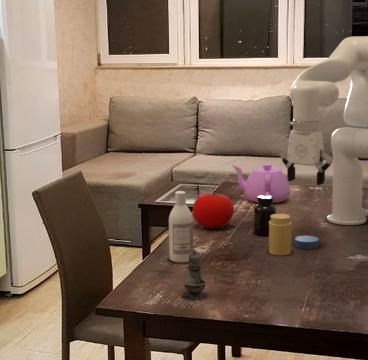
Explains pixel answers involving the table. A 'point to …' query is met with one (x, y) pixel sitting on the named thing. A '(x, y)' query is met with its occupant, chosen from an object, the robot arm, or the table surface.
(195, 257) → the dark grey figurine
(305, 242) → the lid
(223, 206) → the tomato
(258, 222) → the supplement bottle
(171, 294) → the table surface
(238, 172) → the teapot
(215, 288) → the table surface
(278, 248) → the jar
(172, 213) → the bath foam
